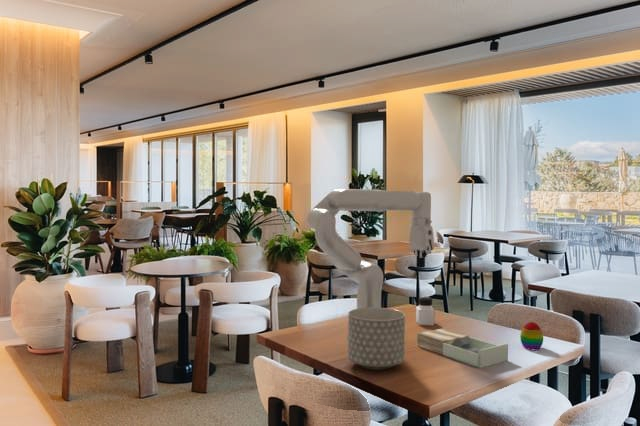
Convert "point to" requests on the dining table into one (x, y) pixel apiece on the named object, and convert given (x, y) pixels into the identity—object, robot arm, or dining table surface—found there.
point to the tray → (485, 355)
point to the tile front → (471, 349)
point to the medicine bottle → (425, 312)
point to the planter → (376, 337)
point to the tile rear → (464, 342)
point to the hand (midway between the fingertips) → (420, 267)
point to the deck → (438, 339)
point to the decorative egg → (531, 336)
